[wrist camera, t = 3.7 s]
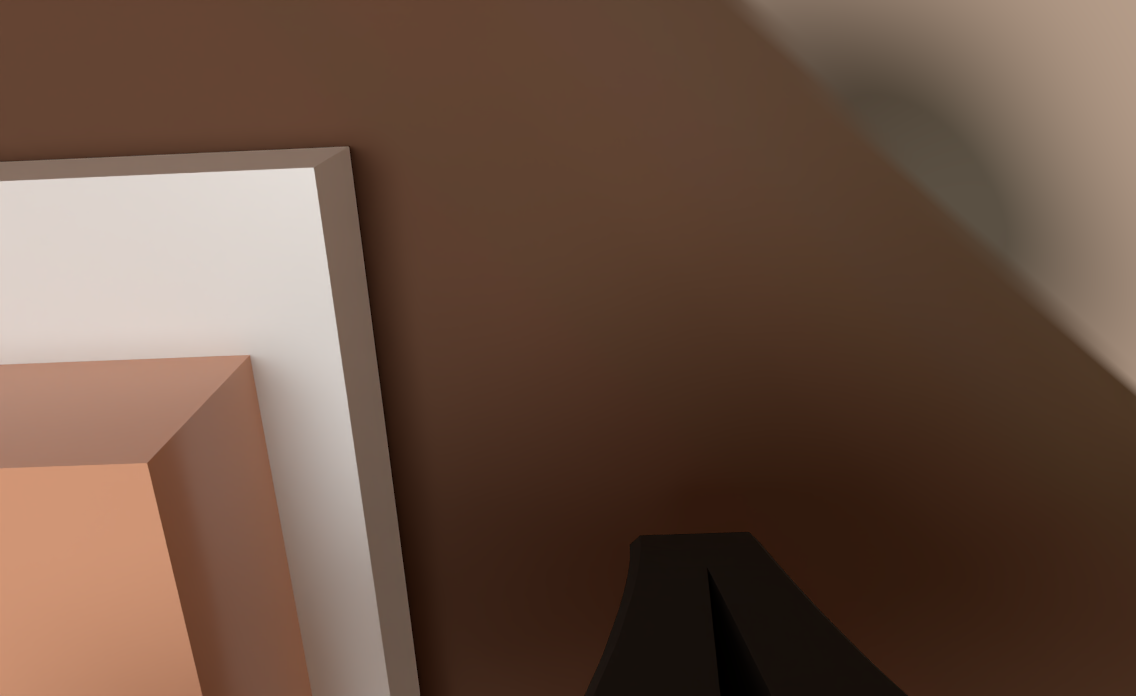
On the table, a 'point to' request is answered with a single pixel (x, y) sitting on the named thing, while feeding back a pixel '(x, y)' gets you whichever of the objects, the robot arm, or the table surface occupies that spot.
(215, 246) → the white riser
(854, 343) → the table surface
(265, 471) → the terracotta tile
